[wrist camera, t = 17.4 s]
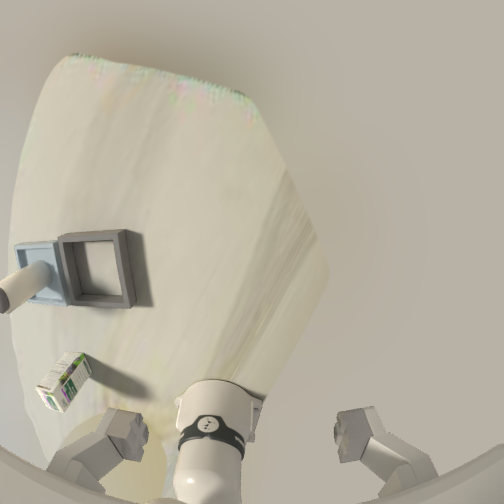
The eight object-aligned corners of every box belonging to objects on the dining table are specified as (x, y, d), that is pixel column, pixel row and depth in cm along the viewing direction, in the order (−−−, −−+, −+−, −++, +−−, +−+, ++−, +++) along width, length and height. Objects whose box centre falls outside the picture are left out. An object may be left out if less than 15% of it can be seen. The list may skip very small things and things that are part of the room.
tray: (72, 301, 47) (67, 306, 45) (33, 298, 48) (27, 302, 45) (59, 240, 44) (52, 243, 42) (20, 242, 44) (13, 245, 42)
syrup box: (93, 372, 53) (65, 414, 39) (74, 370, 53) (46, 408, 39) (84, 352, 51) (52, 393, 37) (65, 350, 51) (33, 388, 37)
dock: (136, 301, 47) (130, 308, 44) (80, 298, 47) (72, 305, 44) (125, 229, 43) (117, 233, 40) (66, 233, 43) (57, 237, 41)
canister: (54, 286, 46) (11, 318, 32) (37, 285, 46) (-5, 314, 32) (48, 259, 44) (1, 286, 30) (31, 259, 44) (-15, 285, 31)
